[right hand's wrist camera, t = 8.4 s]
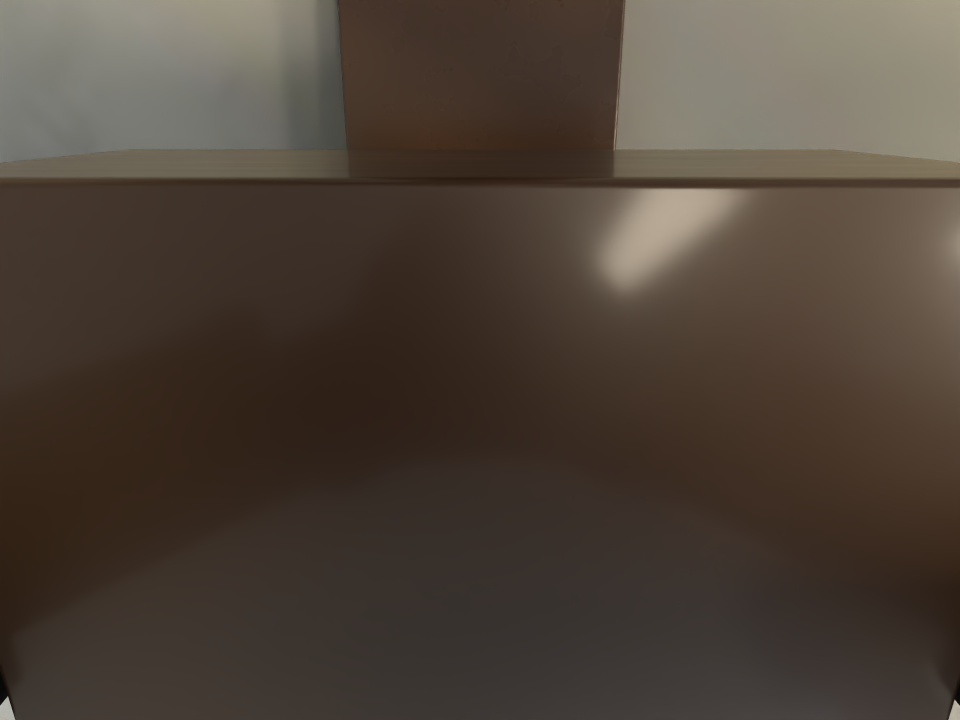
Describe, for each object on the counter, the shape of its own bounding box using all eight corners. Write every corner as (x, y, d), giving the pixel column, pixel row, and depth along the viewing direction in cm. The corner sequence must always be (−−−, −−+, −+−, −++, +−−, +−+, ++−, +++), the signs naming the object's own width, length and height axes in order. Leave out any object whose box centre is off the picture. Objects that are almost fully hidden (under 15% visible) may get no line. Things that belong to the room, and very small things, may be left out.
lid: (835, 149, 10) (1124, 177, 6) (741, 695, 14) (870, 981, 10) (127, 149, 11) (-159, 178, 6) (220, 694, 14) (92, 979, 10)
